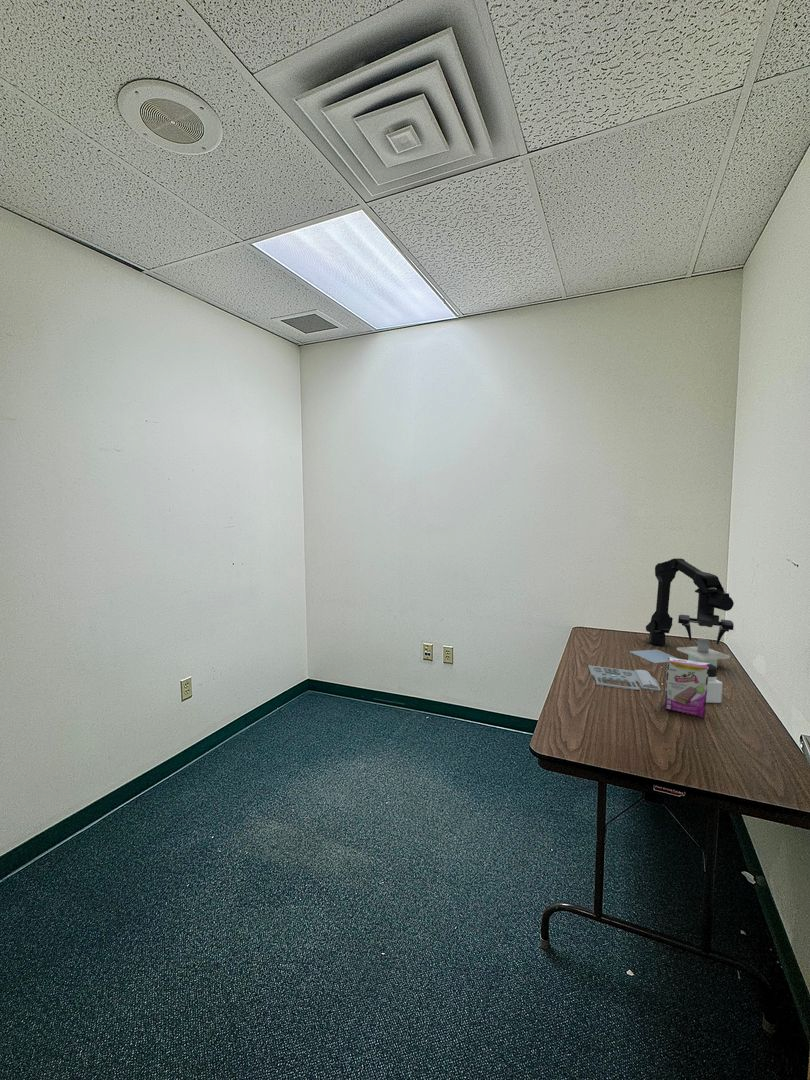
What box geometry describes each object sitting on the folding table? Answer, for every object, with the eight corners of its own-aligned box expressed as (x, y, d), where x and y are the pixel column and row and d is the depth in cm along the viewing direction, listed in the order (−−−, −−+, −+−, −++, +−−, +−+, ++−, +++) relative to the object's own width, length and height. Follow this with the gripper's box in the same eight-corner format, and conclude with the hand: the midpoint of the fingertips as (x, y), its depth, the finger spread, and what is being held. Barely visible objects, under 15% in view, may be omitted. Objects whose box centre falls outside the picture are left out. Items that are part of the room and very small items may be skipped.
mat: (628, 652, 202) (628, 651, 202) (657, 650, 205) (657, 649, 205) (653, 664, 187) (653, 662, 187) (684, 661, 190) (684, 660, 190)
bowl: (682, 662, 189) (682, 650, 189) (701, 661, 192) (702, 649, 191) (702, 671, 180) (703, 658, 179) (722, 669, 182) (723, 657, 181)
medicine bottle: (721, 703, 150) (724, 668, 149) (700, 702, 150) (702, 668, 149) (707, 694, 157) (710, 661, 156) (687, 693, 157) (689, 660, 156)
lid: (676, 650, 190) (677, 636, 190) (702, 648, 193) (703, 634, 192) (703, 660, 177) (704, 645, 177) (729, 658, 180) (730, 643, 180)
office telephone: (652, 669, 176) (665, 689, 156) (651, 676, 176) (664, 696, 157) (588, 661, 182) (593, 679, 163) (588, 668, 183) (593, 686, 164)
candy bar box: (664, 710, 144) (667, 660, 143) (664, 704, 148) (667, 656, 147) (705, 719, 139) (709, 667, 137) (704, 712, 143) (708, 662, 142)
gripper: (679, 605, 182) (676, 643, 183) (735, 612, 172) (733, 651, 173) (679, 601, 191) (677, 636, 192) (733, 606, 181) (730, 644, 182)
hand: (703, 642), depth 185 cm, fingers open, 9 cm apart
